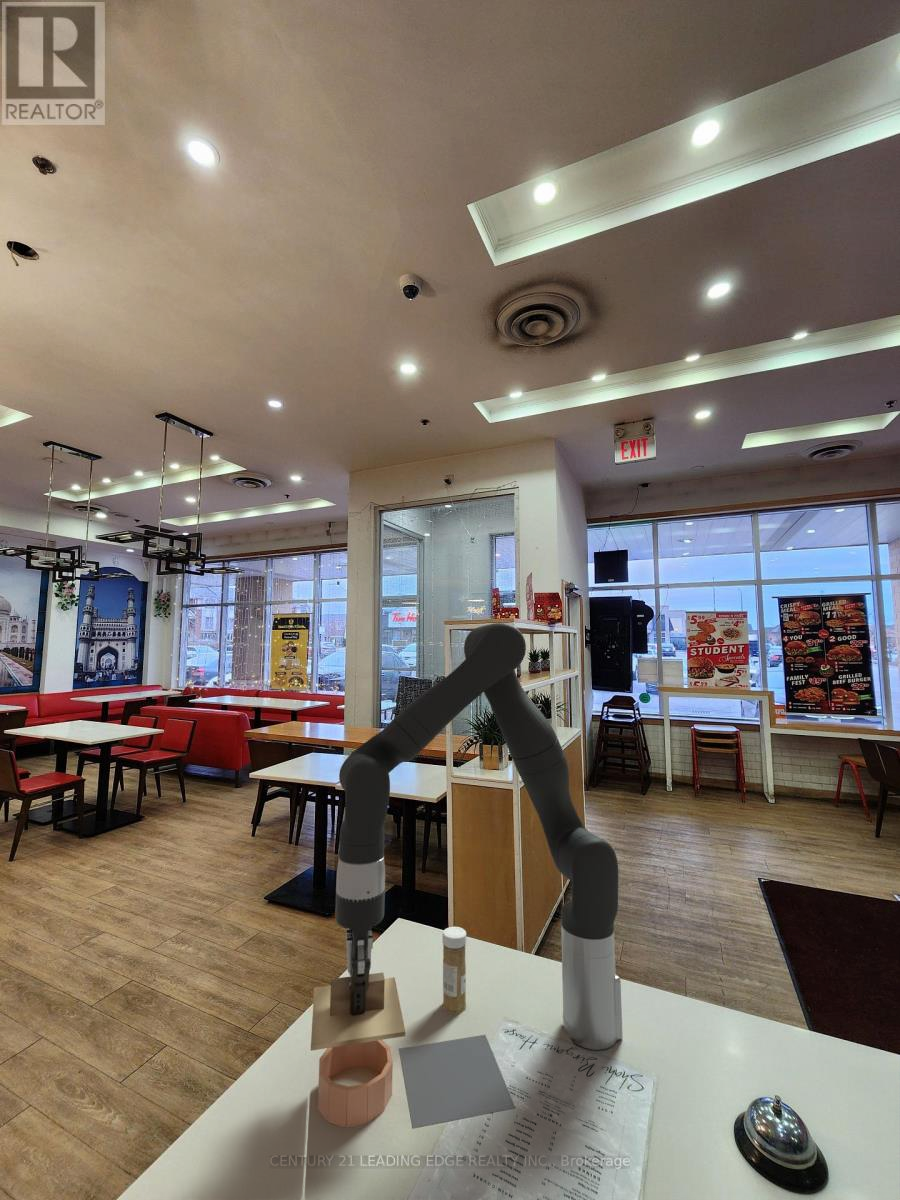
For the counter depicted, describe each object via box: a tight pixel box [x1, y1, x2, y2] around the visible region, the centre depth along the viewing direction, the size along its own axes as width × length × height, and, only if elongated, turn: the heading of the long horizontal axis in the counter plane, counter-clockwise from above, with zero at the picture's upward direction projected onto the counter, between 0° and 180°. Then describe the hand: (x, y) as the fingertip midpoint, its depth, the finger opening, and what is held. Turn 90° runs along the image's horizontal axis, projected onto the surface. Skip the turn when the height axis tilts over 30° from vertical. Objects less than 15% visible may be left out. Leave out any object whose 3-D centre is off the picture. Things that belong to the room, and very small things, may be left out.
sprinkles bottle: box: [441, 926, 467, 1015], centre depth 96 cm, size 5×5×13 cm
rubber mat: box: [398, 1034, 516, 1129], centre depth 79 cm, size 15×15×1 cm
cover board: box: [310, 972, 406, 1051], centre depth 77 cm, size 13×13×5 cm
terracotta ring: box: [317, 1040, 394, 1128], centre depth 76 cm, size 11×11×5 cm
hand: (357, 1007), depth 77 cm, fingers closed on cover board
